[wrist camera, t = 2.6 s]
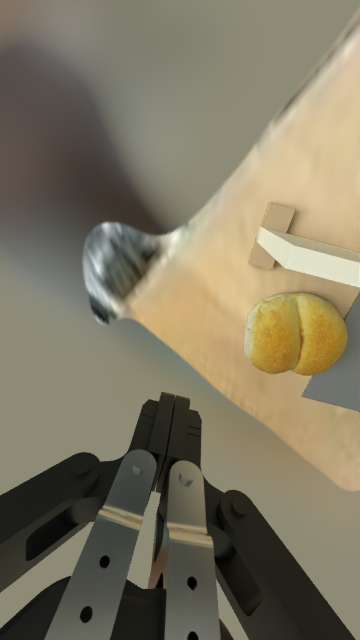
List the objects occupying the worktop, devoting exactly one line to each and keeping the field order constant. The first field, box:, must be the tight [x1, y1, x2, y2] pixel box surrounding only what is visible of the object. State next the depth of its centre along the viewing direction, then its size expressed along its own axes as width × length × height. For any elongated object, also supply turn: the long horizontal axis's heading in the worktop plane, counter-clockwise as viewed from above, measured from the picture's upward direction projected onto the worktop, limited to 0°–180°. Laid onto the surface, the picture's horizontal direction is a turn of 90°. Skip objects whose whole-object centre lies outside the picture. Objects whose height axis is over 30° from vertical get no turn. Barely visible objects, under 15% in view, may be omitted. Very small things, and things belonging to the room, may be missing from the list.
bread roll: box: [244, 293, 348, 376], centre depth 25 cm, size 8×9×4 cm
